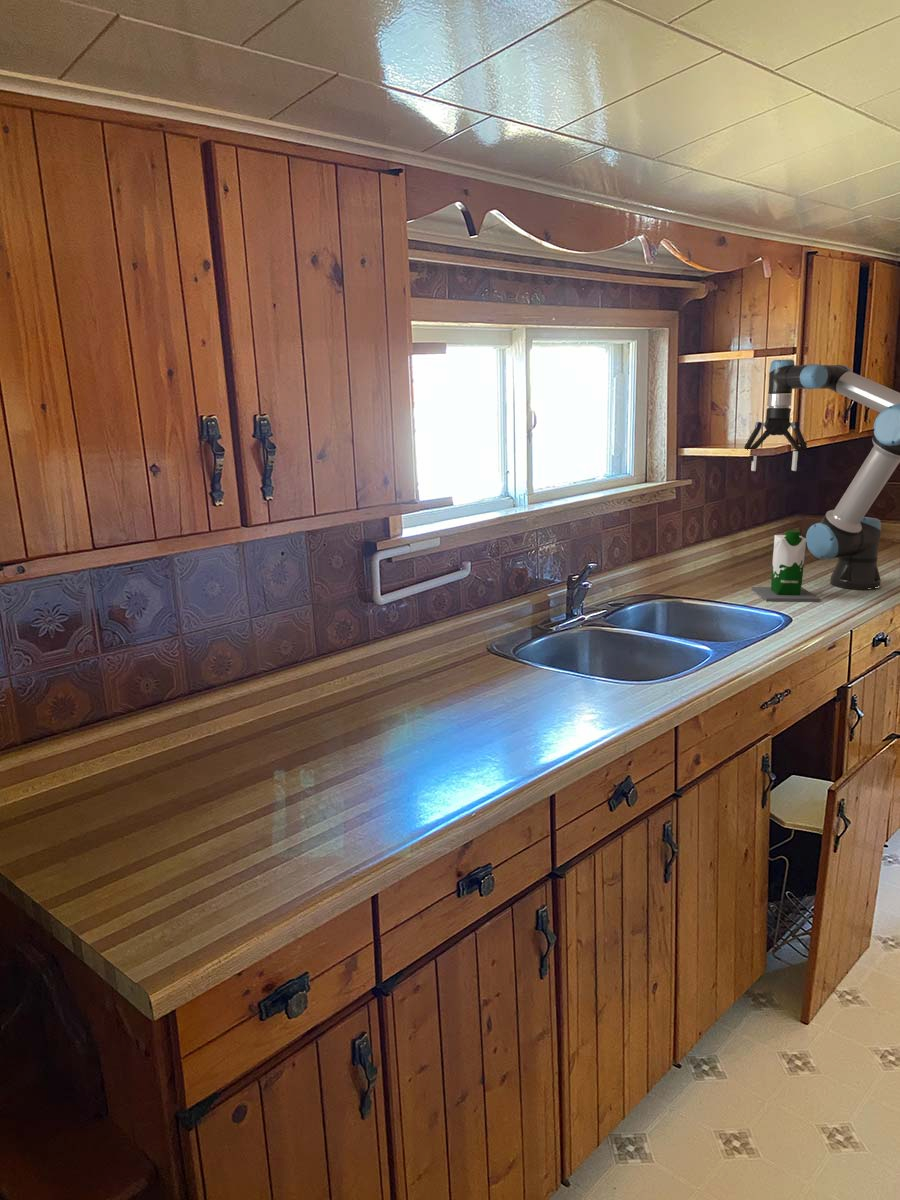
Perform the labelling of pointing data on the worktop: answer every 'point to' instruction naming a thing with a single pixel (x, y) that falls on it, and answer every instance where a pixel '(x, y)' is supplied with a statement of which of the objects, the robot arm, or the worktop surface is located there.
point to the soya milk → (788, 563)
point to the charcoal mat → (773, 597)
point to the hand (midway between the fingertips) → (773, 470)
